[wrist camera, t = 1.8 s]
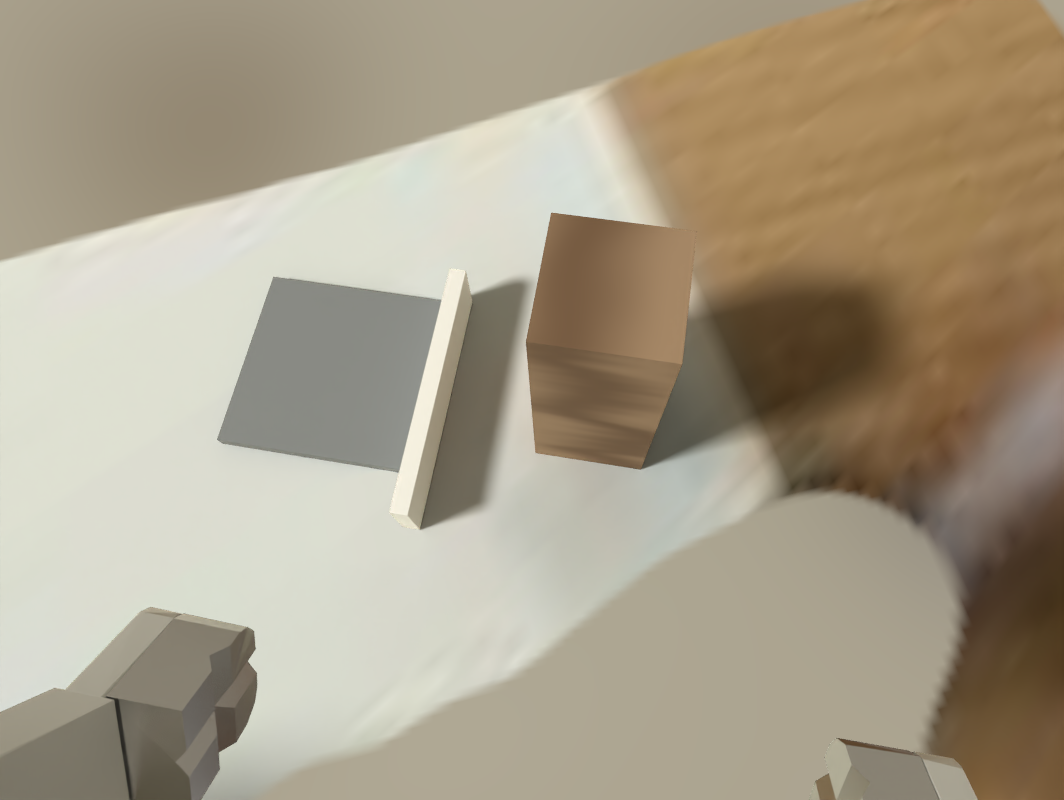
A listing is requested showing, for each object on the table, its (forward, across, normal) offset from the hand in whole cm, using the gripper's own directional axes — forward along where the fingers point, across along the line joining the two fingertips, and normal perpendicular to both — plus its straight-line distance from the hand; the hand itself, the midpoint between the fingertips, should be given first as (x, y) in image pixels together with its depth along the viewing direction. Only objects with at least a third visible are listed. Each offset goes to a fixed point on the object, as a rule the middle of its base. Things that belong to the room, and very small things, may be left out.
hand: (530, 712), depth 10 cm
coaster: (+25, +12, +6) cm, 28 cm away
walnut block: (+25, -1, +6) cm, 25 cm away
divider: (+24, +7, +7) cm, 26 cm away
